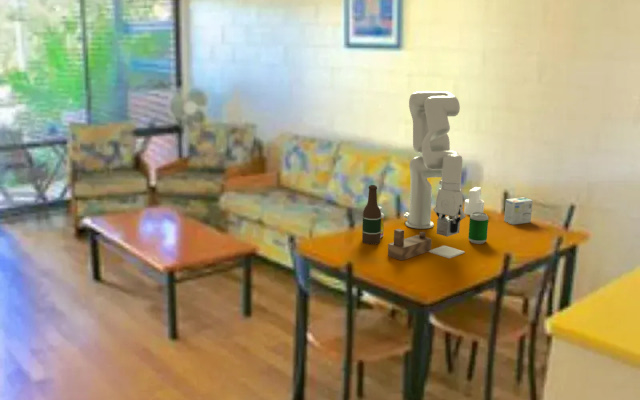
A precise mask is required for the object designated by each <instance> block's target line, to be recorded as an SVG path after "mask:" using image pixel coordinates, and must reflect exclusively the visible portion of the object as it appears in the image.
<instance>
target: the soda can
mask: <svg viewBox="0 0 640 400" xmlns="http://www.w3.org/2000/svg"><path fill="white" fill-rule="evenodd" d="M488 228H489V216H488V215H487V213H485V212H483V213H481V212H475V213H472V214H471V215H469V223H468V240H469V241H470V243H472V244H475V245H476V244H477V245H483V244H485V242H487V240H488Z"/></svg>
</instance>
